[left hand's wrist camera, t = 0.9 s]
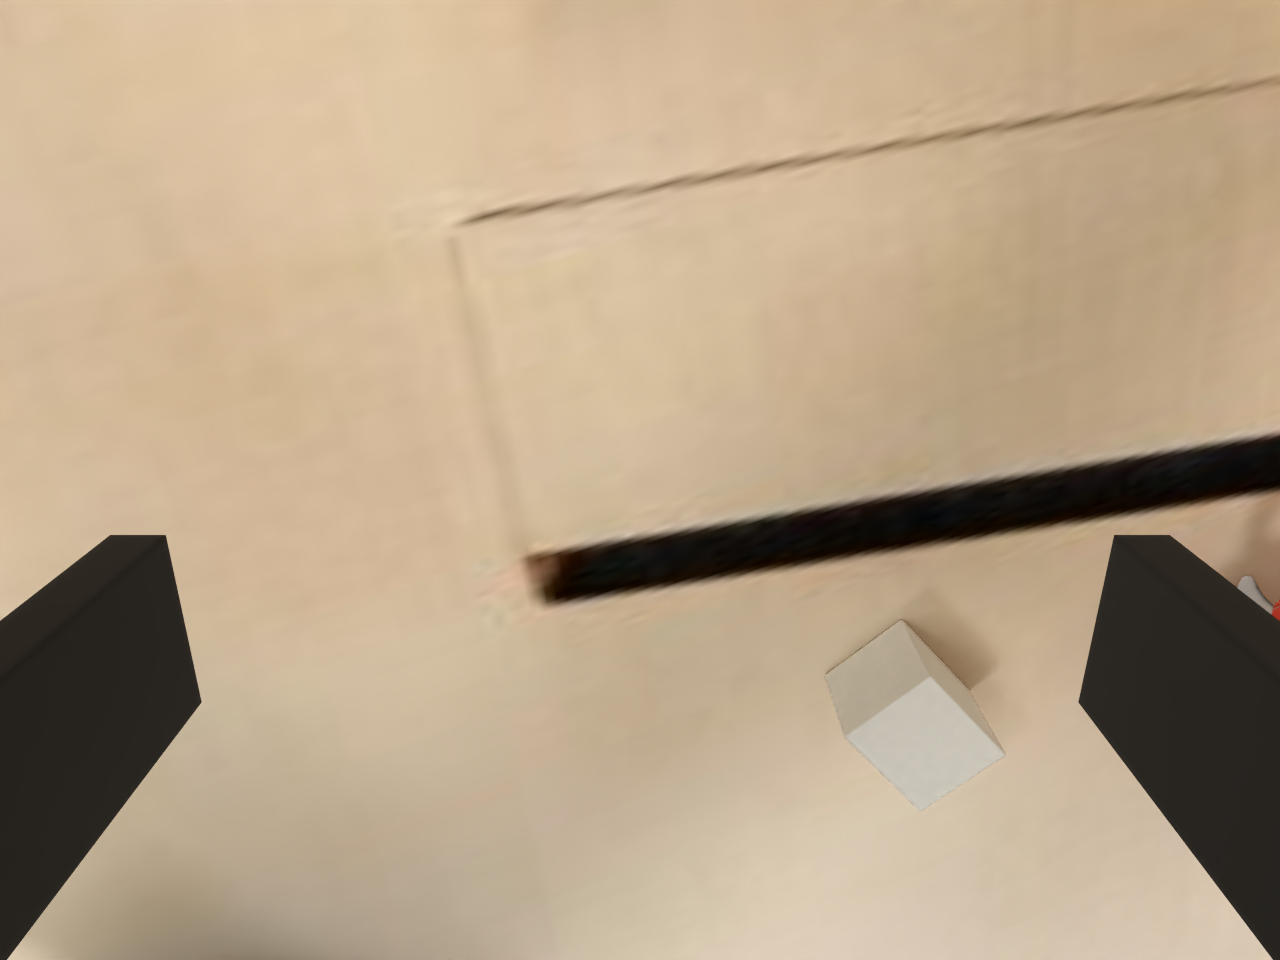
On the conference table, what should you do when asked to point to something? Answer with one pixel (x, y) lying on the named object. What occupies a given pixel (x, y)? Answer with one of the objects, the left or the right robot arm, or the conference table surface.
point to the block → (911, 716)
